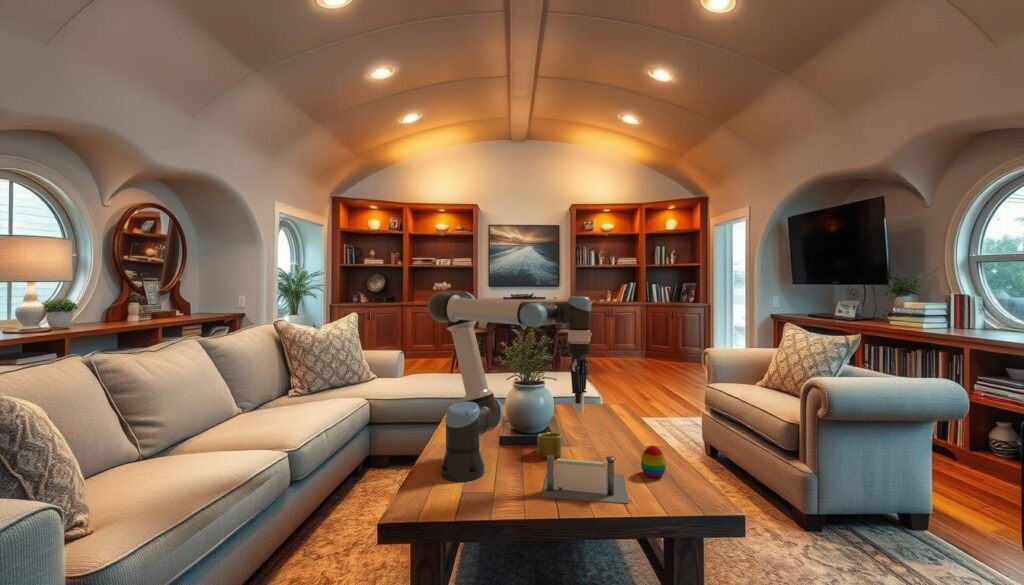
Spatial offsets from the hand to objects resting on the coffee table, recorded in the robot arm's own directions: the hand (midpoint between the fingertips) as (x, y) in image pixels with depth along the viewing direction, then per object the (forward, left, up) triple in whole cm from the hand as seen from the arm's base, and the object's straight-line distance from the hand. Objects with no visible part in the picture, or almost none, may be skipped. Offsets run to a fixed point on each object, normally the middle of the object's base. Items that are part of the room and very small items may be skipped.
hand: (579, 412), depth 156 cm
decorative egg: (+25, +8, -23) cm, 35 cm away
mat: (+2, -5, -22) cm, 23 cm away
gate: (+1, -11, -22) cm, 24 cm away
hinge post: (+10, -11, -22) cm, 27 cm away
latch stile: (-9, -11, -22) cm, 26 cm away
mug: (-12, +22, -23) cm, 34 cm away
